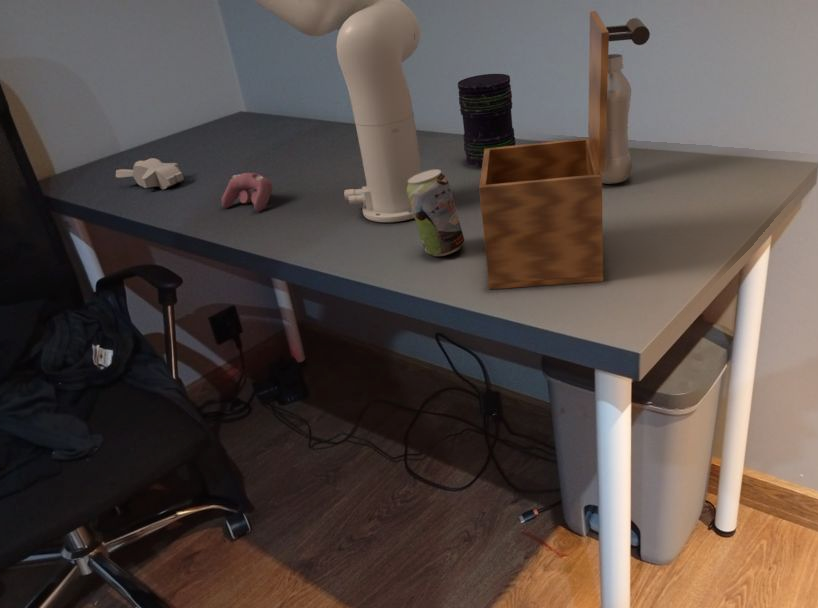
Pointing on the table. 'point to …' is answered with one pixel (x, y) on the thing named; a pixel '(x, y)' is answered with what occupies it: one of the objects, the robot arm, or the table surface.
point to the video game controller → (241, 188)
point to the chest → (542, 214)
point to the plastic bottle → (617, 123)
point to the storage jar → (485, 115)
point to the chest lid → (605, 76)
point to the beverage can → (435, 212)
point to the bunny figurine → (153, 173)
